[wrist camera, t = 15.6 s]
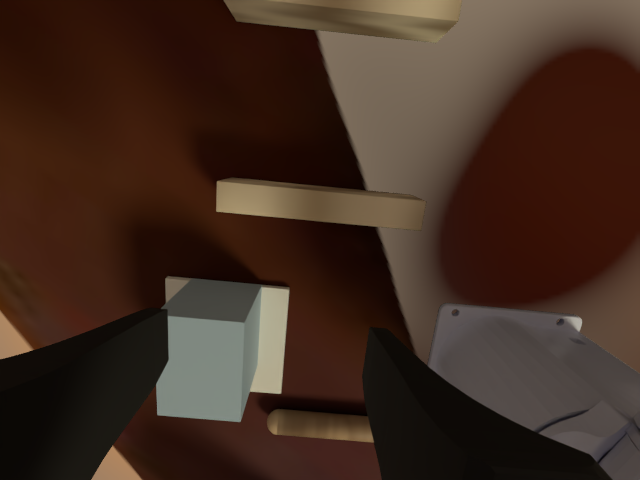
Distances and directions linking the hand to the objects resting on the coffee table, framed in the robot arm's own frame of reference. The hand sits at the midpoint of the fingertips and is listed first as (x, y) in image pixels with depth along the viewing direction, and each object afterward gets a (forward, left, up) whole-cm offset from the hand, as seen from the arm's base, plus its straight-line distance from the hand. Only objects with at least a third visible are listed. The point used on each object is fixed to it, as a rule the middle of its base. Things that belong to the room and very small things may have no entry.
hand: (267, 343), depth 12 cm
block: (+4, +5, -10) cm, 11 cm away
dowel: (-5, +12, -10) cm, 16 cm away
